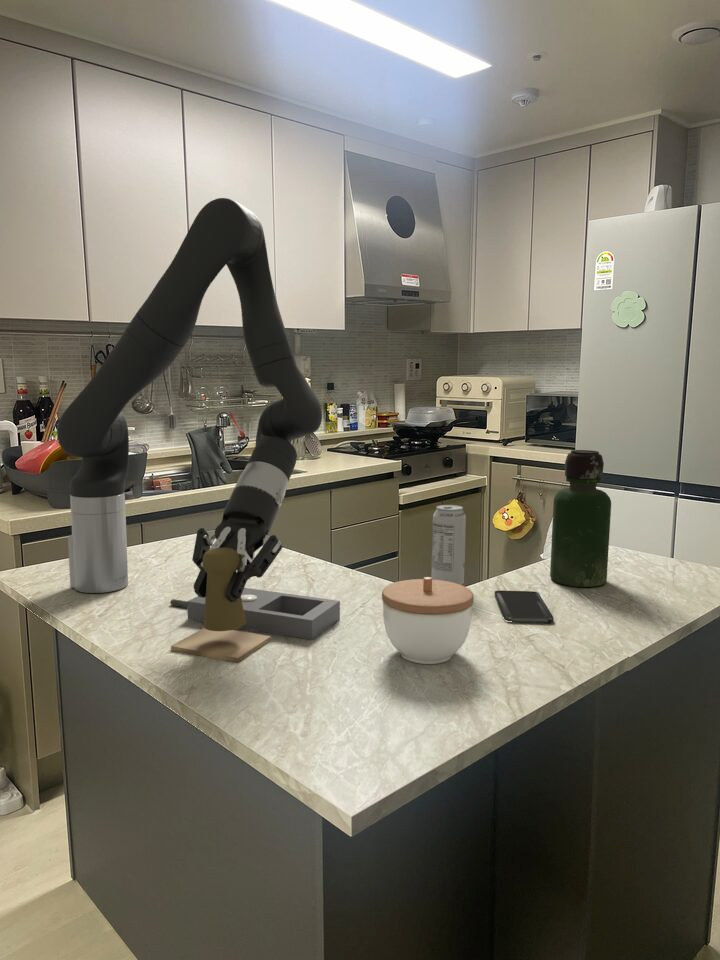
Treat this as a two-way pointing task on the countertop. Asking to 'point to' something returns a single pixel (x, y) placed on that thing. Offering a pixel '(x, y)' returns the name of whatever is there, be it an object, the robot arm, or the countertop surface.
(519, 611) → the phone
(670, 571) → the countertop surface
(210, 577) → the pepper shaker
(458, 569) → the energy drink can
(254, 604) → the charging strip
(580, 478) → the green bottle
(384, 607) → the lidded bowl
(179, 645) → the cork pad
